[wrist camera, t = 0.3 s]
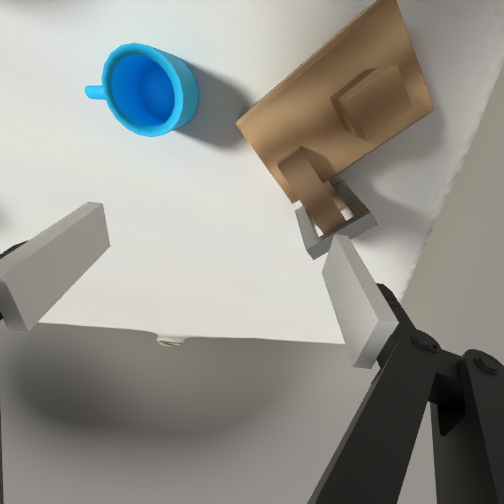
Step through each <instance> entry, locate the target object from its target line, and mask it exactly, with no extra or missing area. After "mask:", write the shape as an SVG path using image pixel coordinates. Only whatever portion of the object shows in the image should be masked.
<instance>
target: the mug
mask: <svg viewBox="0 0 504 504" xmlns="http://www.w3.org/2000/svg"><path fill="white" fill-rule="evenodd" d="M102 85H103V86H86V87H85V93H86V95H87V96H88V97H89V98H91V99H105V100H106V101H107V104H108V107H109V108H110V110H111V111H112V113H113V114H114V116H115V117H116V119H117V120H118V121H119V122H120V123H122V124H123V125H124V126H125V127H126V128H127V129H129V130H131V131H133V132H135V133H136V134H138V135H143V136H148V137H154V136H161V135H164V134H166V133H168V132H170V131H172V130H174V129H176V128H178V127H180V126H182V125H184V124H185V123H187V122H189V121H190V119H191V118H192V117H193V116H194V114H195V112H196V109H197V107H198V102H199V91H198V86H197V81H196V79H195V77H194V75H193V73H192V71H191V70H190V69H189V67H188V66H187V65H186V64H185V63H184V62H183V61H182V60H180V59H179V58H177V57H175V56H174V55H172V54H169V53H167V52H164V51H161V50H159V49H156V48H153V47H151V46H148V45H143V44H138V43H130V44H125V45H121V46H120V47H118V48H117V49H116V50H114V51H113V52H111V54H110V55H109V57H108V59H107V61H106V62H105V64H104V69H103V74H102Z"/></svg>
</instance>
